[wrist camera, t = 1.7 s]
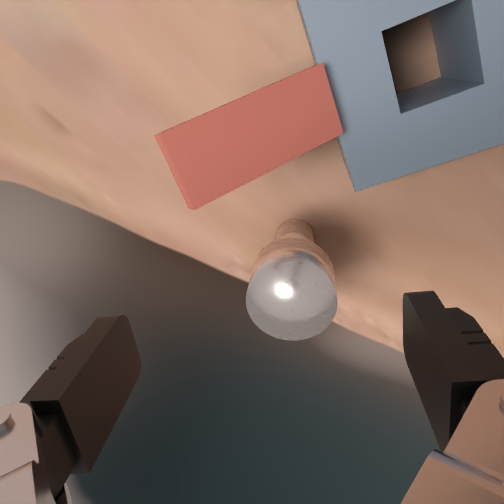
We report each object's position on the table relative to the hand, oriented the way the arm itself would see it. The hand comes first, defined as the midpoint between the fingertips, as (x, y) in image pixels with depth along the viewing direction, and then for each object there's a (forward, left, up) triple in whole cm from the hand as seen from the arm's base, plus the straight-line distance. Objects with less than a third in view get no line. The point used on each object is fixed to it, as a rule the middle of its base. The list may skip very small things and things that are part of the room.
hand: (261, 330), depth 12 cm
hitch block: (-10, -4, -24) cm, 27 cm away
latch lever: (0, -4, -13) cm, 14 cm away
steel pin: (+2, +7, -24) cm, 26 cm away
